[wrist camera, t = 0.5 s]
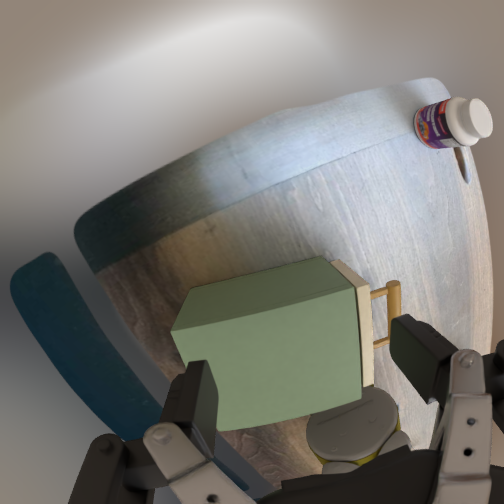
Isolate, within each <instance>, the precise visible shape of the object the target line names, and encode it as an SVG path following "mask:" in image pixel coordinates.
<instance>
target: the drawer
mask: <svg viewBox="0 0 504 504" xmlns="http://www.w3.org/2000/svg"><path fill="white" fill-rule="evenodd" d="M329 264H330V265H332V266H333V267H334V268H335V269H336V270H337V271H338V272H339V273H340V274H341V275H342V276H343V277H344V278H345V279H346V280H347V281H348V282H349V283H350V284H351V285H352V286H353V287H354V292H355V301H356V311H357V321H358V333H359V348H360V366H361V384H362V386H363V387H366V386H369V385H371V384H374V351H373V349H376V348H378V347H381V346H384V345H386V344H390V328H391V320H392V319H393V318H395V317H398V316H401V285H400V282H399V281H397V280H392V281H389V282H387V283H386V287H383V288H380V289H377V290H374V291H371V292H370V286H369V283H368V282H366V281H365V280H364V279H363V278H362V277H360V276H359V275H358V274H357V273H356V272H354V271H353V270H352V269H351V268H349V267H348V266H347V265H346V264H345V263H343V262H342V261H341V260H340V259H339V260H335V261H331V262H329ZM386 294H387V314H388V337H385V338H382V339H380V340H377V341H374V342H373V326H372V310H371V299H374V298H377V297H380V296H383V295H386Z"/></svg>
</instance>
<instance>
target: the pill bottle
mask: <svg viewBox="0 0 504 504" xmlns="http://www.w3.org/2000/svg"><path fill="white" fill-rule="evenodd" d="M414 126H415V130H416V133H417V135H418V137H419V139H420V140H421V142H422V143H423V144H424V145H426V146H427V147H429V148H432V149H440V148H450V147H461V146H471V145H474V144H475V143H476V142H477V141H478V140H479V138H484V137H488V136H490V135H491V133H492V129H493V123H492V117H491V114H490V112H489V110H488V108H487V106H486V105H485V104H484V103H483V102H482V101H481V100H479V99H476V98H474V99H470V100H465V99H464V98H461V97H454V98H450V99H447V100H444V101H441V102H438V103H435V104H432V105H429V106H426V107H423V108H421V109H419V110H418V111H417V113H416V115H415V119H414Z"/></svg>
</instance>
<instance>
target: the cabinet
mask: <svg viewBox="0 0 504 504" xmlns="http://www.w3.org/2000/svg"><path fill="white" fill-rule="evenodd" d="M170 332H171V335H172V337H173V339H174V342H175V344H176V346H177V348H178V351H179V353H180V355H181V357H182V360H183V362H184V364H185V366H186V368H187V365H188V362H189V361H198V360H207V361H208V363H209V366H210V369H211V371H212V374H213V377H214V380H215V383H216V385H217V389H218V394H219V403H218V413H217V424H216V427H217V429H218V431H228V430H235V429H242V428H248V427H254V426H260V425H265V424H271V423H276V422H280V421H285V420H289V419H294V418H298V417H302V416H306V415H310V414H313V413H317V412H321V411H324V410H328V409H331V408H334V407H337V406H341V405H344V404H347V403H350V402H353V401H356V400H359V399H361V366H360V348H359V333H358V321H357V311H356V301H355V292H354V287H353V286H352V285H351V284H350V283H349V282H348V281H347V280H346V279H345V278H344V277H343V276H342V275H341V274H340V273H339V272H338V271H337V270H336V269H335V268H334V267H333V266H332V265H330V264H329V263H328V262H327V261H326V260H325V259H324V258H323V257H322V256H319V257H315V258H311V259H307V260H303V261H300V262H296V263H292V264H288V265H284V266H280V267H276V268H272V269H268V270H264V271H260V272H256V273H252V274H248V275H244V276H240V277H236V278H232V279H228V280H224V281H220V282H216V283H212V284H207V285H203V286H199V287H195V288H191V289H190V291H189V293H188V295H187V297H186V299H185V301H184V304H183V306H182V308H181V310H180V312H179V314H178V316H177V318H176V320H175V323H174V325H173V327H172V329H171V331H170Z"/></svg>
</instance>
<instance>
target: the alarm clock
mask: <svg viewBox="0 0 504 504" xmlns="http://www.w3.org/2000/svg"><path fill="white" fill-rule="evenodd" d="M310 415H311V417H310V419H309V421H308V424H307V429H306V437H307V442H308V444H309V447H310V449H311V450H312V451H313V453H314V454H315V456H316V457H317V458H318V460H319V461H320V462H321V464H323V468H322V474H336V473H347V472H351V471H353V470H355V469H357V468H358V467H360V466H362V465H364V464H365V463H367V462H369V461H371V460H372V459H374V458H375V457H377V456H379V455H381V454H384V453H386V452H389V451H391V450H394V449H396V448H399V447H401V446H403V445H406V444H407V445H408V446H409V448H410V447H411V442H410V438H409V437H408V436H407V434H406V433H405V432H403V431H401V430H400V429H401V427H400V420H399V413H398V407H397V405H396V403H395V401H394V399H393V398H392V397H391V396H390V395H389V394H388V393H387V392H385V391H384V390H381V389H379V388H376V387H374V385H373V384H371V385H369V386H366V387H363V386H361V399H359V400H356V401H353V402H350V403H347V404H344V405H341V406H337V407H334V408H331V409H328V410H324V411H321V412H317V413H313V414H310Z"/></svg>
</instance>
